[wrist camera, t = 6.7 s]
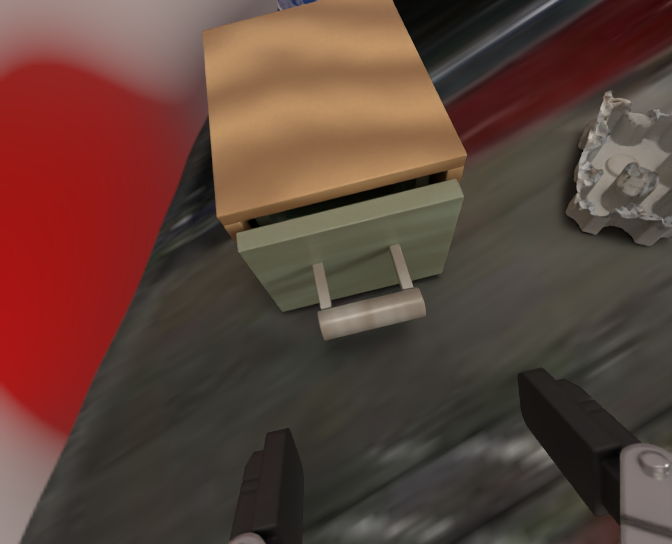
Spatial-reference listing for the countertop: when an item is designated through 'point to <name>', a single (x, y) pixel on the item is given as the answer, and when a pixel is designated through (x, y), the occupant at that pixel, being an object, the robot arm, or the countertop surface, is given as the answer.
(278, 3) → the aerosol can
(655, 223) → the egg carton
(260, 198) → the cabinet
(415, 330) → the countertop surface
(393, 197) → the drawer
